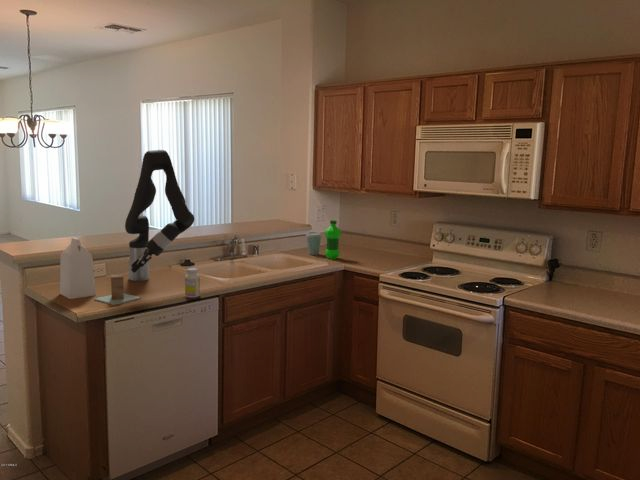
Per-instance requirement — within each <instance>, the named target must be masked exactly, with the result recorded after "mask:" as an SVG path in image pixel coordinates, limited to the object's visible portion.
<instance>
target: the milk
mask: <svg viewBox="0 0 640 480" xmlns="http://www.w3.org/2000/svg"><path fill="white" fill-rule="evenodd" d="M70 242H71V243H70V244H69V245H68V246H67V247H65V249H63V251H62V252H61V253H60V259H59V260H60V261H59V262H60V264H59V265H60V266H59V268H60V269H59V270H60V271H59V282H60V283H59V294H60V295H62V296H63V297H65V298H67V299H69V300H72V299H80V298H85V297H92V296H96V293H97V292H96V282H95V271H94V270H95V269H94V260H93V259H94V258H93V257H94V256H93V255H92V253H91V252H90V251H88V250H87V247H85V246H84V245H83V244H82V243H81V239H79V238H77V237H71V241H70Z"/></svg>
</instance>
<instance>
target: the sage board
mask: <svg viewBox="0 0 640 480" xmlns="http://www.w3.org/2000/svg"><path fill="white" fill-rule="evenodd" d="M141 298H142V297H139V296H136V295H132V294H128V293H125V292H124V299H117V300H112V294H109V295H104V296H100V297H99V296H98V297H96V298H95V297H94V298H93V301H96V302H101V303H104V304H108V305H112V306H116V305H120V304H121V305H122V304H124V303H129V302H133V301H138V300H141Z"/></svg>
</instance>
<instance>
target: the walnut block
mask: <svg viewBox="0 0 640 480" xmlns="http://www.w3.org/2000/svg"><path fill="white" fill-rule="evenodd" d="M110 287H111V288H110V291H111V295H112V300H117V299H124V293H125V292H124V289H125V288H124V274H114V275H113V274H111V275H110Z"/></svg>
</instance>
